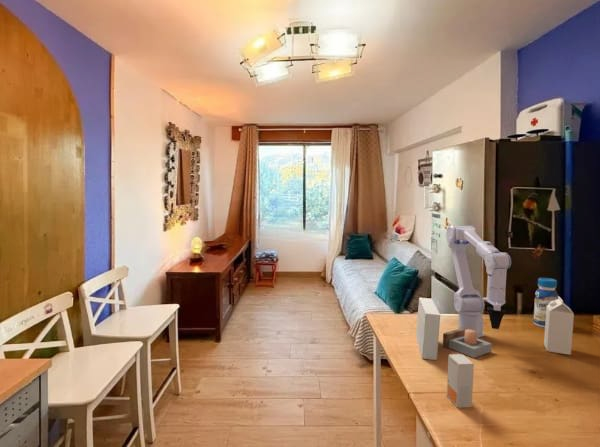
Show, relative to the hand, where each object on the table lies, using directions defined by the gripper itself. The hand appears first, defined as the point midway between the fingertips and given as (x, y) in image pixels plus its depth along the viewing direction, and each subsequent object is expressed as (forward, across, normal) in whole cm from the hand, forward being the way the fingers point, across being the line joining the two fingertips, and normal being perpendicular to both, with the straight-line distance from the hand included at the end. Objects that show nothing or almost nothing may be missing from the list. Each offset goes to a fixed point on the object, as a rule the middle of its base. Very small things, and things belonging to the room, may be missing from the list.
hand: (494, 325), depth 134 cm
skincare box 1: (+10, +5, -22) cm, 25 cm away
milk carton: (+10, -12, +22) cm, 27 cm away
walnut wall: (+10, -2, -12) cm, 16 cm away
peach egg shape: (+10, +1, -7) cm, 13 cm away
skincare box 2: (+10, +40, -11) cm, 42 cm away
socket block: (+10, +1, -8) cm, 13 cm away
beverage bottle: (+10, -41, +23) cm, 48 cm away
